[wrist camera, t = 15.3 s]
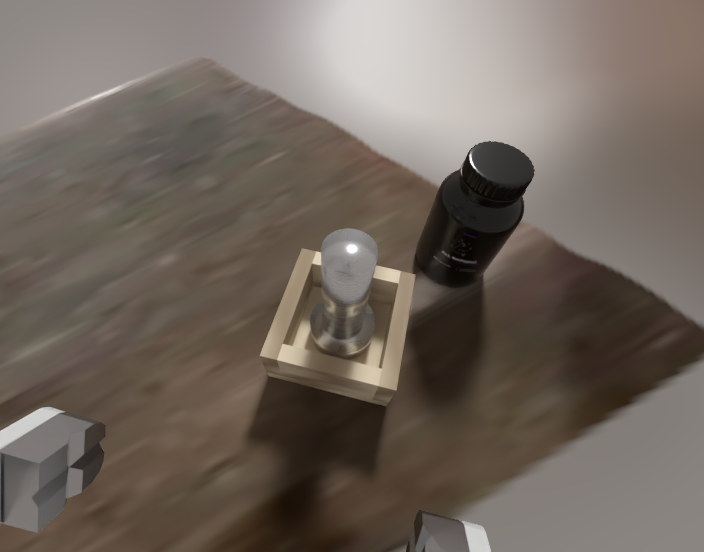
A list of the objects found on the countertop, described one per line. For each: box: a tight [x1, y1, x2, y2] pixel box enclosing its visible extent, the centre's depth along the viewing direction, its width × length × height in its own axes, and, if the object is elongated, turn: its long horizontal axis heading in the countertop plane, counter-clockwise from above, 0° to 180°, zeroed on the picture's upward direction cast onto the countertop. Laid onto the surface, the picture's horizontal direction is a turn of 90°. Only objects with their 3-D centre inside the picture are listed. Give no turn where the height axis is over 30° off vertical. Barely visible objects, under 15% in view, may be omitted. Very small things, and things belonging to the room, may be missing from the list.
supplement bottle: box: [416, 141, 534, 287], centre depth 30 cm, size 7×7×12 cm
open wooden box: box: [260, 248, 415, 406], centre depth 28 cm, size 9×9×4 cm
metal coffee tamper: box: [310, 229, 378, 360], centre depth 25 cm, size 5×5×11 cm
